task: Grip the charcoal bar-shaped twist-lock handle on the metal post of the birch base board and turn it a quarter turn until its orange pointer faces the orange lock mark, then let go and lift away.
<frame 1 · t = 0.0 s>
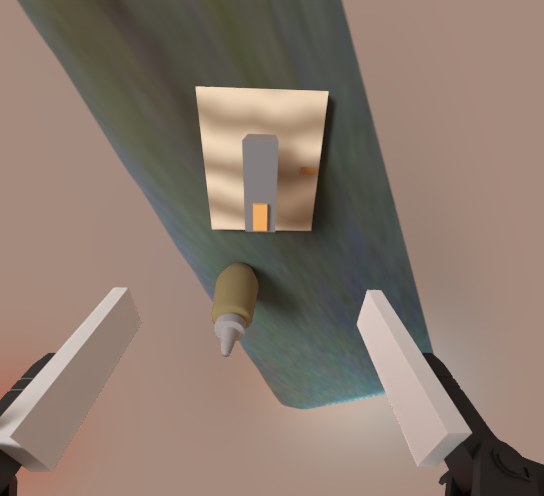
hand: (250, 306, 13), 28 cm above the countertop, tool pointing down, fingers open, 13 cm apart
squeeze bottle: (239, 273, 47), on the countertop
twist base: (262, 167, 36), on the countertop
coupling cap: (261, 182, 28), point 9 cm above the countertop, hinge at 0.0°
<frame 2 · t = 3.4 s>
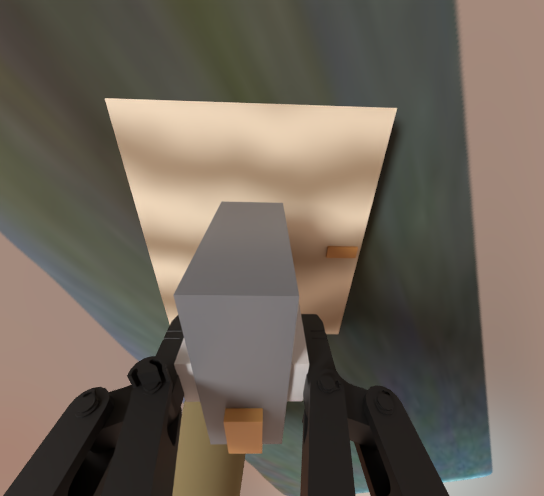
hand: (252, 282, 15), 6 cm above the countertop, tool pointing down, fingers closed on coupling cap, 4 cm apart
squeeze bottle: (223, 374, 31), on the countertop
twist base: (256, 238, 20), on the countertop
coupling cap: (249, 317, 12), point 9 cm above the countertop, hinge at -0.1°, touching gripper
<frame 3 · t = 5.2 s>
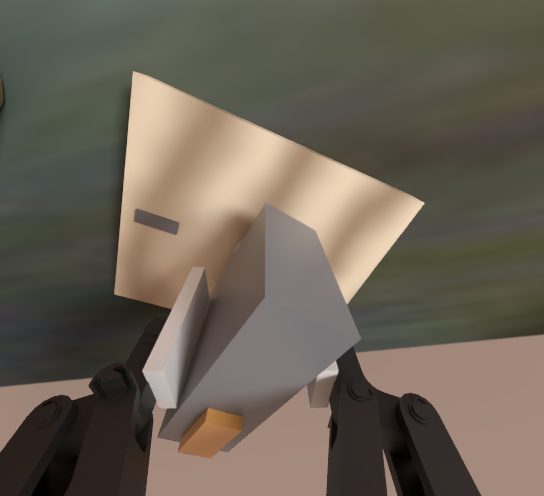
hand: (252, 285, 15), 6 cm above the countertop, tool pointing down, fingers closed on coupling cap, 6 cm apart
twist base: (254, 241, 20), on the countertop
coupling cap: (247, 322, 12), point 9 cm above the countertop, hinge at 81.4°, touching gripper
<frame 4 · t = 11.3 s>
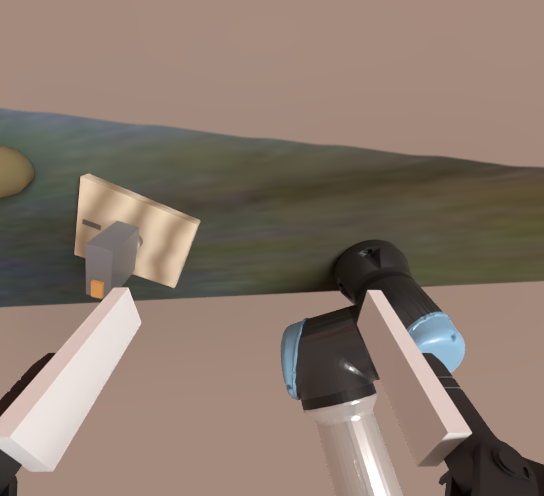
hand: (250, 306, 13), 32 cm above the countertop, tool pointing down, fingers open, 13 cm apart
squeeze bottle: (17, 165, 39), on the countertop
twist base: (139, 235, 46), on the countertop
coupling cap: (112, 260, 38), point 9 cm above the countertop, hinge at 95.0°
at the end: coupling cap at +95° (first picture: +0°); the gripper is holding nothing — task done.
